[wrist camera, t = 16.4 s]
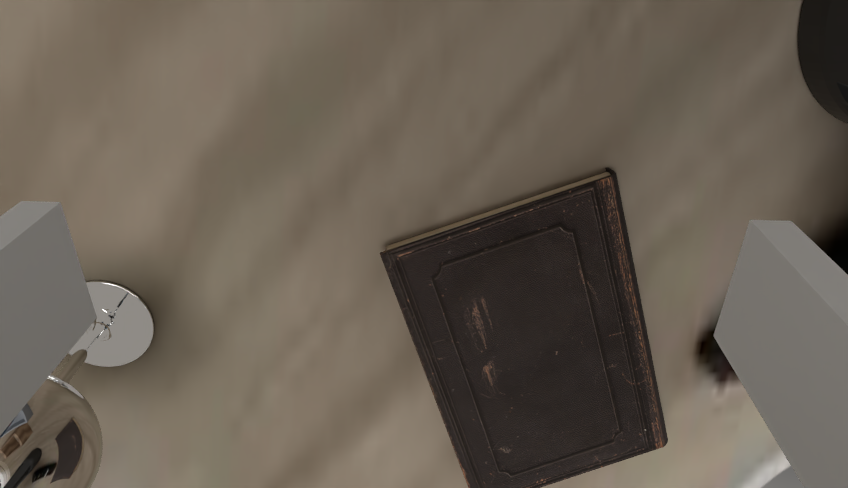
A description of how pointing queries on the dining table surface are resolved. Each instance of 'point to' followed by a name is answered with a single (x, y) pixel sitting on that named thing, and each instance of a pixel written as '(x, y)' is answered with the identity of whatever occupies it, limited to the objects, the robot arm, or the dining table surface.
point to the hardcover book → (533, 336)
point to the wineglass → (74, 400)
